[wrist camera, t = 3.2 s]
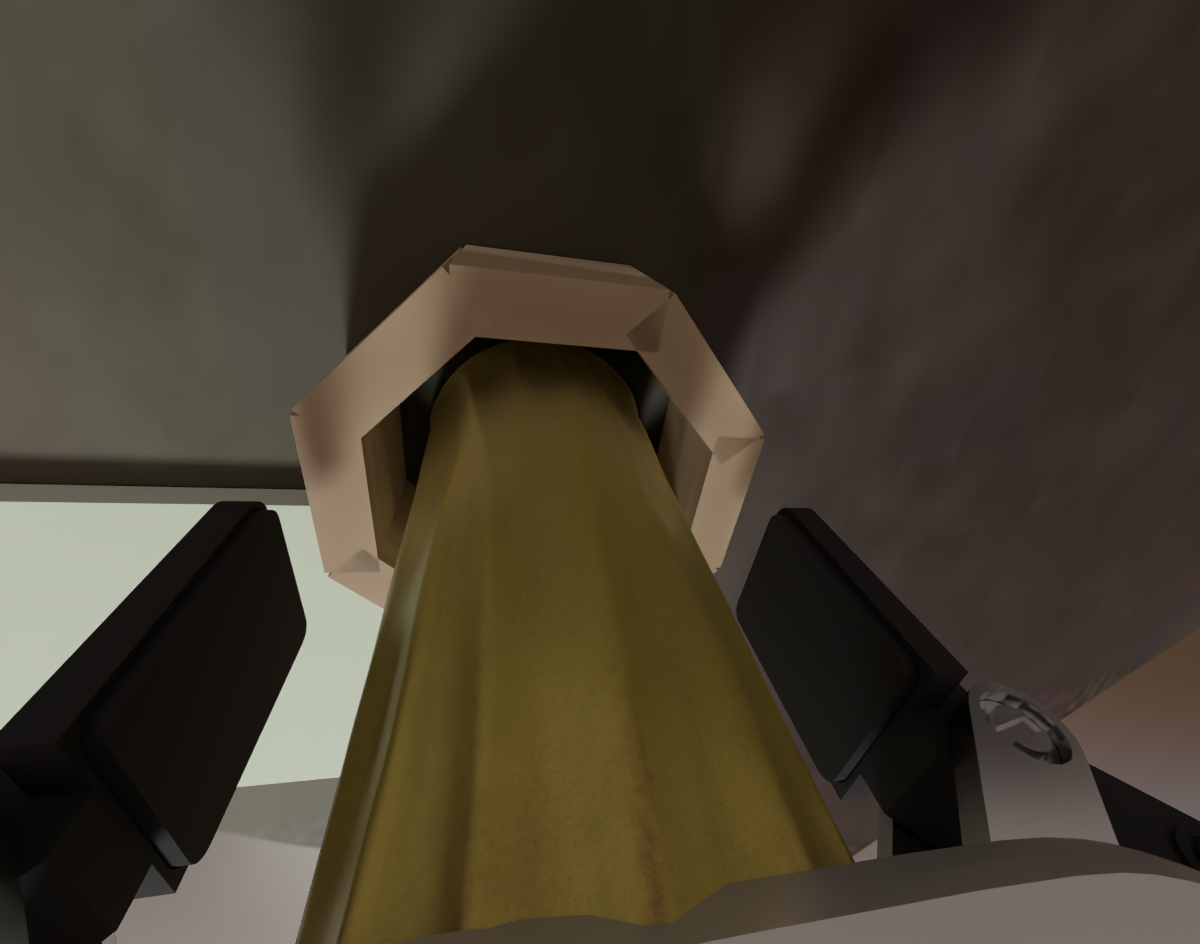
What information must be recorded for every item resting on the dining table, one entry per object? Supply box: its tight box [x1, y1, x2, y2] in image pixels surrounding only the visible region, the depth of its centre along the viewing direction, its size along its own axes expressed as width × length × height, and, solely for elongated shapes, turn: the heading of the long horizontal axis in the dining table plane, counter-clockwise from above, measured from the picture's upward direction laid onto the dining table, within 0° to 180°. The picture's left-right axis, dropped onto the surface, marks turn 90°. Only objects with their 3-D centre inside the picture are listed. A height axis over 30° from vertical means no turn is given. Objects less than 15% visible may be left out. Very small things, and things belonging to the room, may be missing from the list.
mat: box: [0, 484, 384, 787], centre depth 16 cm, size 14×14×1 cm
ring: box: [290, 245, 765, 609], centre depth 12 cm, size 10×10×4 cm
